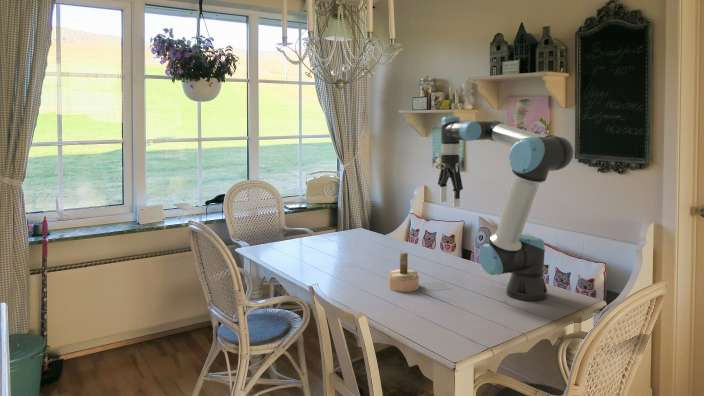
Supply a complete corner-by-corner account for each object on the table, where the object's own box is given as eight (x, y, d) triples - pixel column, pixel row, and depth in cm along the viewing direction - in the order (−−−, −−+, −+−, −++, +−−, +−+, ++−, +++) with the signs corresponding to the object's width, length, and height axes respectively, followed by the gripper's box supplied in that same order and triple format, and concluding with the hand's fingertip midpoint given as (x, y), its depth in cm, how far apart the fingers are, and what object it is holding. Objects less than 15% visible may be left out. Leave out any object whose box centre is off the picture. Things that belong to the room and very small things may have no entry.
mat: (452, 291, 209) (452, 289, 209) (428, 293, 208) (428, 290, 208) (443, 283, 219) (443, 281, 219) (420, 285, 217) (420, 283, 217)
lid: (421, 279, 208) (421, 256, 206) (393, 280, 206) (394, 258, 204) (412, 271, 218) (413, 249, 217) (387, 273, 217) (387, 251, 215)
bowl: (422, 292, 208) (422, 279, 207) (392, 294, 206) (393, 281, 205) (413, 283, 220) (413, 270, 219) (385, 285, 218) (385, 272, 217)
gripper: (471, 155, 210) (470, 208, 213) (446, 152, 234) (446, 199, 237) (454, 155, 208) (453, 209, 211) (430, 152, 232) (430, 200, 235)
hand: (449, 204), depth 224 cm, fingers open, 13 cm apart
